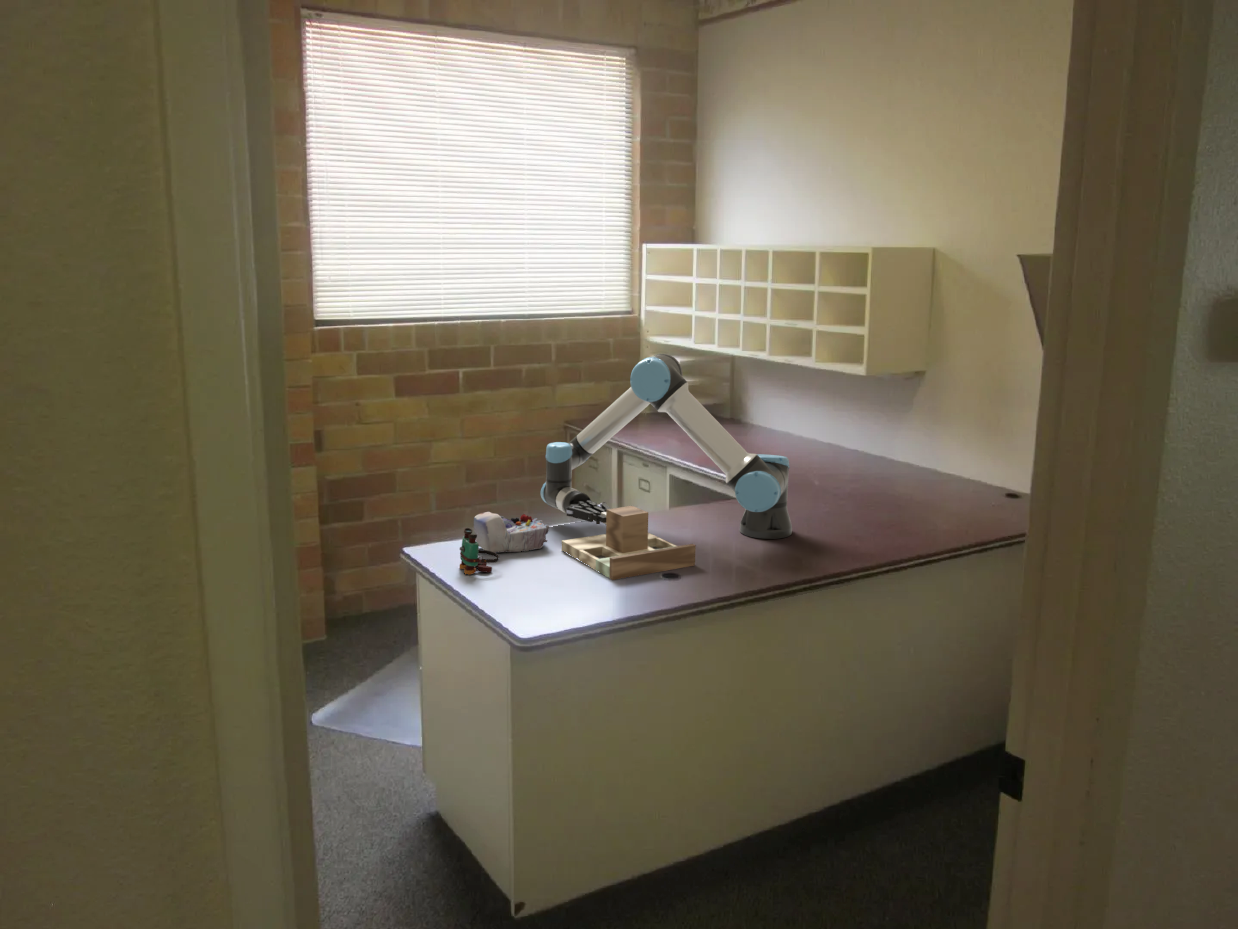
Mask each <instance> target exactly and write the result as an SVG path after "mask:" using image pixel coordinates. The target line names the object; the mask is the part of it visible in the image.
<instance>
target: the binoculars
mask: <svg viewBox="0 0 1238 929" xmlns="http://www.w3.org/2000/svg"><path fill="white" fill-rule="evenodd" d="M463 533H464V535H463V536H462V539H461V540H462V541H461V546H460V547H459V551H460V553H459V554H460V555H459V556H460V560H461V561H460V562H459V569H460V570H464V573H465V574H464V575H466V574H468V576H470V575H473V574H475V573H476V572H481V573H492V570H493V566H490V565H488V564H494V563H498V561H499V560H500V555H499V554H498V553H494V552H491V551H487V550H484V549H479V543H477V542H476V538H477V534H475V533H473V529H472V528H470V527H465V528H464V529H463ZM479 554H482V555H481V556H479ZM483 555H489V556H492V557H494V558H484V556H483Z"/></svg>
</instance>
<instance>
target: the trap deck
mask: <svg viewBox="0 0 1238 929" xmlns="http://www.w3.org/2000/svg"><path fill="white" fill-rule="evenodd" d="M562 551H564V552H567V553H568V554H570V555H571V556H573V557H574V558H578V559H579V560H580V561H582V562H583V563H585V564H587V565H589V566H590V567H591V568H590V567H589V568H590V569H592V568H593V569H592V570H594V569H595V570H597V571H599V572H600V573H599V572H598V573H599V574H601V573H602V574H603V575H602V574H601V575H602V576H604V575H605V576H604V577H607V578H608V577H609V578H608V579H609V580H611V581H615V580H621V578H622V579H627V578H626V577H628V578H632V577H633V578H634V577H638V576H643V575H649V574H650V575H651V574H655V573H659V572H660V573H661V572H666V571H671V570H676V569H682V568H683V569H684V568H688V567H694V566H696V544H694V543H688V544H682V545H676V544H674V543H672V542H669V541H667V540H665V539H663V538H661V537H659V536H656V535H654V534H652V533H650V532H648V549H644V550H638V551H633V552H627V553H621V552H618V551H616V550H614V549H612V548H610V547H608V546H606V533H604V534H598V535H597V534H596V535H590V536H583V537H577V538H571V539H563V540H561V552H562ZM564 552H563V553H564ZM571 556H570V557H571ZM573 557H572V558H573ZM574 558H573V559H574ZM580 561H579V562H580ZM583 563H582V564H583ZM585 564H584V565H585ZM587 565H586V566H587ZM595 570H594V571H595ZM597 571H596V572H597Z"/></svg>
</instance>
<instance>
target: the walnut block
mask: <svg viewBox="0 0 1238 929" xmlns="http://www.w3.org/2000/svg"><path fill="white" fill-rule="evenodd" d="M648 533H649V512H648V511H646V510H643V509H641V508H639V507H636V506H634V505H627V506H621V507H614V508H611V509H607V510H606V524H605V534H606V546H608V547H610V548H612V549H614V550H616V551H618V552H621V553H627V552H633V551H638V550H644V549H648Z"/></svg>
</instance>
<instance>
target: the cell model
mask: <svg viewBox="0 0 1238 929" xmlns="http://www.w3.org/2000/svg"><path fill="white" fill-rule="evenodd" d="M473 530H474V534H477V538H476V542H477V543H479V547H480V548H481V549H482V550H487V551H491V552H494V553H496V552H498V553H506V552H507V553H521V551H522V552H525V551H526V552H529V550H530V551H533V550H540V549H542V548H543V546H544V543H548V539H547V535H548V533H549V532H550V531H549V530H550V526H549V524H544V523H543V520H541V519H540V520H539V519H538V518H537V517H535V518H532V516H531V515H530V516H529V515H528V514H524V513H523V514H521V515H520V517H519V516H518V517H511V518H510V519H508V518H506V517H505V516H503V515H499V514H498V513H493V512H490V511H486V512H480V513H478V514H476V515H475V516H474V517H473ZM496 554H497V553H496Z"/></svg>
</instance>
